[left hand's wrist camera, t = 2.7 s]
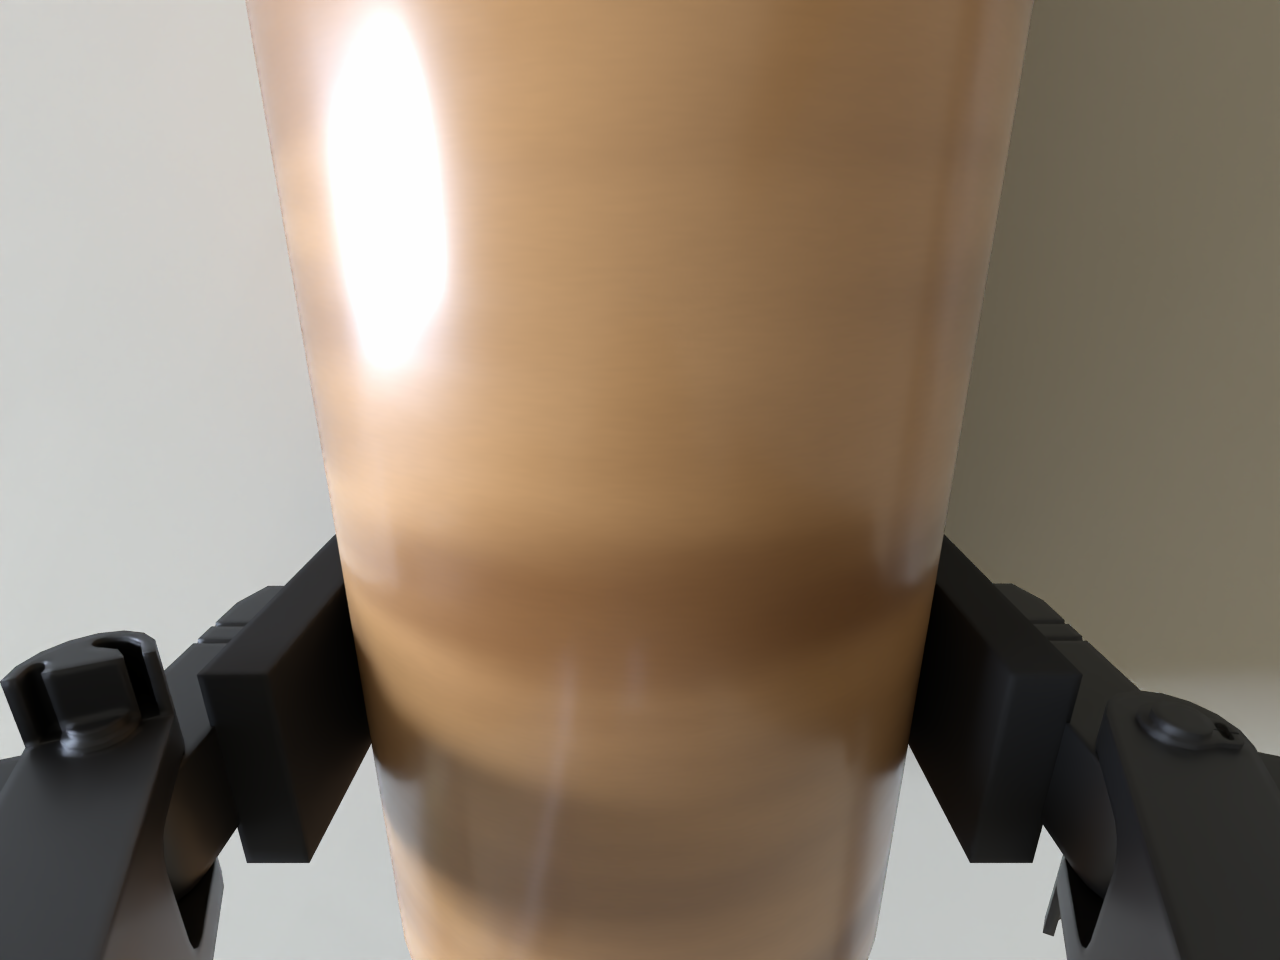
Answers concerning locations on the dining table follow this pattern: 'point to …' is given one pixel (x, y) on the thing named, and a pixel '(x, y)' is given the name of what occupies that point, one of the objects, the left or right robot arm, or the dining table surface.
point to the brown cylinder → (639, 438)
